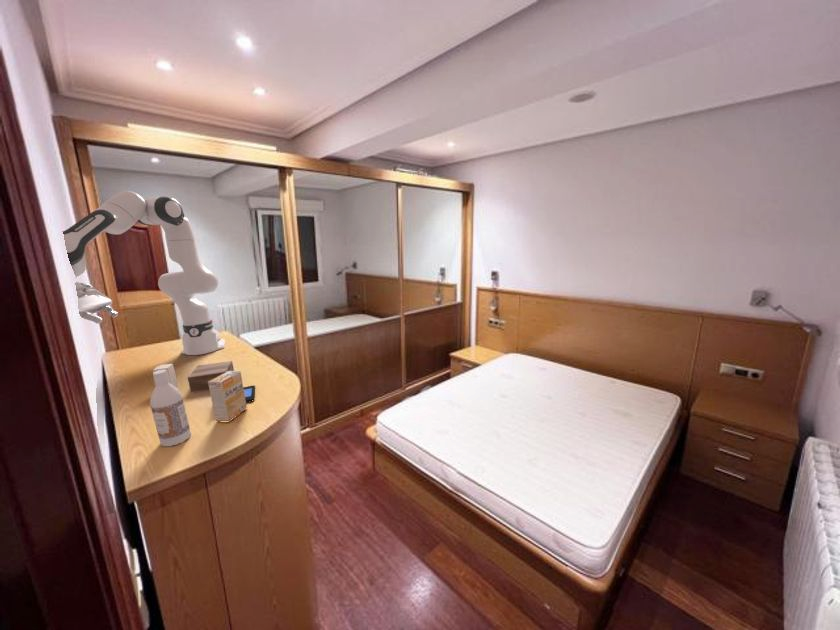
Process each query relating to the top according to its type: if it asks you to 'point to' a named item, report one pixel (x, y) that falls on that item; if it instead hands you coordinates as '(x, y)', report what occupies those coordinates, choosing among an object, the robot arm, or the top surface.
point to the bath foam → (168, 411)
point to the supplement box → (227, 395)
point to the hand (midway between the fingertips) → (108, 318)
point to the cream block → (168, 373)
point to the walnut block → (207, 375)
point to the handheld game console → (249, 393)
